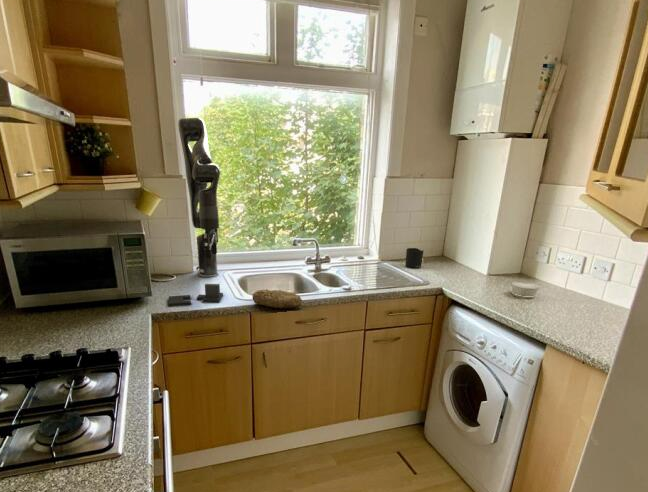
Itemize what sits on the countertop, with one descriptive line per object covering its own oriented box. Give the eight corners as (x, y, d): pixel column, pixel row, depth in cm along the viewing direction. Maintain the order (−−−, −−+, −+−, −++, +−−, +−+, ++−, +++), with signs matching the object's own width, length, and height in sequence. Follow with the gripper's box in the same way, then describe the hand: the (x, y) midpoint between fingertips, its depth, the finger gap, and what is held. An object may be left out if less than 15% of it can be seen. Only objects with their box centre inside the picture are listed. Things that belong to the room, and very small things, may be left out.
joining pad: (200, 294, 187) (199, 281, 185) (223, 295, 188) (222, 281, 185) (195, 302, 178) (194, 287, 176) (219, 302, 178) (218, 288, 176)
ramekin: (530, 292, 199) (533, 281, 197) (540, 300, 189) (543, 288, 187) (506, 291, 200) (508, 280, 198) (514, 298, 190) (517, 287, 188)
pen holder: (404, 268, 238) (406, 250, 234) (405, 264, 246) (406, 247, 243) (421, 269, 236) (423, 252, 232) (421, 265, 244) (423, 248, 240)
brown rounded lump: (250, 308, 176) (285, 310, 163) (249, 289, 175) (284, 289, 162) (272, 306, 186) (306, 307, 173) (271, 288, 185) (306, 288, 172)
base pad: (169, 298, 182) (168, 296, 181) (190, 297, 184) (190, 294, 184) (168, 306, 173) (168, 303, 172) (191, 304, 175) (190, 302, 175)
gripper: (204, 213, 175) (207, 252, 181) (194, 218, 162) (197, 259, 168) (222, 214, 175) (224, 252, 181) (213, 219, 162) (215, 260, 168)
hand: (211, 256), depth 175 cm, fingers open, 8 cm apart
